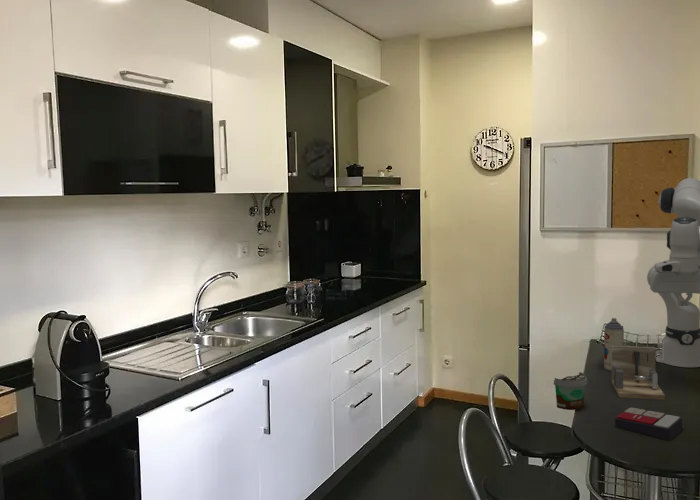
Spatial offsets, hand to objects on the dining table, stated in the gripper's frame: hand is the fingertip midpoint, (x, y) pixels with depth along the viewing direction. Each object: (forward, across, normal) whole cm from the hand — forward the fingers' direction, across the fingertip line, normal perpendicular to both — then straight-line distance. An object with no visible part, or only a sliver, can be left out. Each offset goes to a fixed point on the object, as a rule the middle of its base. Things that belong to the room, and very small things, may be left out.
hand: (683, 305), depth 202 cm
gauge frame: (+29, +15, +5) cm, 33 cm away
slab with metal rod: (+27, +13, +4) cm, 30 cm away
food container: (+29, +37, +25) cm, 53 cm away
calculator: (+30, +18, +38) cm, 52 cm away
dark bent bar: (+27, +14, 0) cm, 30 cm away
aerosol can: (+29, +19, -19) cm, 40 cm away
